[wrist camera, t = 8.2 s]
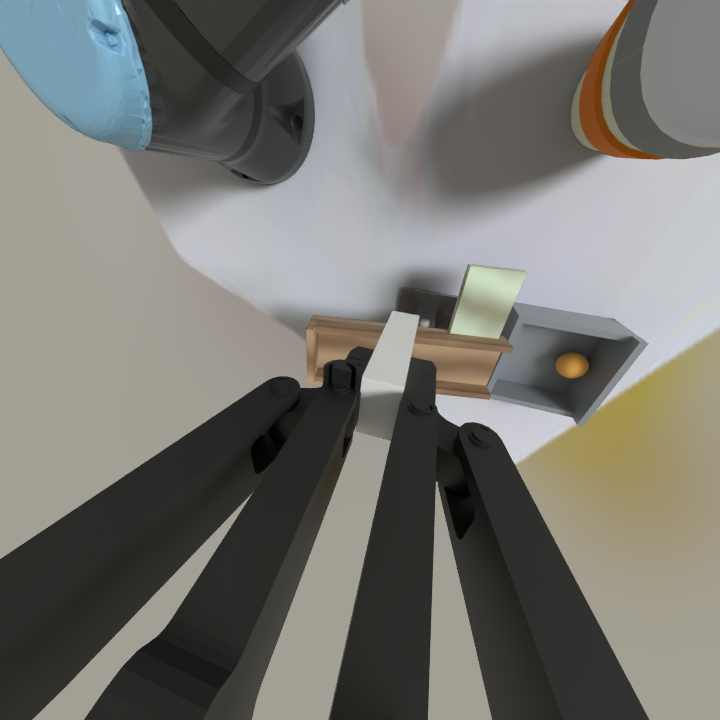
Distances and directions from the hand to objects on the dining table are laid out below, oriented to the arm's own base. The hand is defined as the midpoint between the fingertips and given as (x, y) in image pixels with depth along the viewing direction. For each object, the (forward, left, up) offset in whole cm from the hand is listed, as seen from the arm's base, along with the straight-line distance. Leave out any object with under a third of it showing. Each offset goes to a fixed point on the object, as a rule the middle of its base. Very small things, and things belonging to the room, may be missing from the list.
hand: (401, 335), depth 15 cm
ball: (+22, +12, -24) cm, 35 cm away
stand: (+10, -5, -26) cm, 29 cm away
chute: (+6, -5, -19) cm, 20 cm away
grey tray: (+20, +9, -26) cm, 34 cm away
